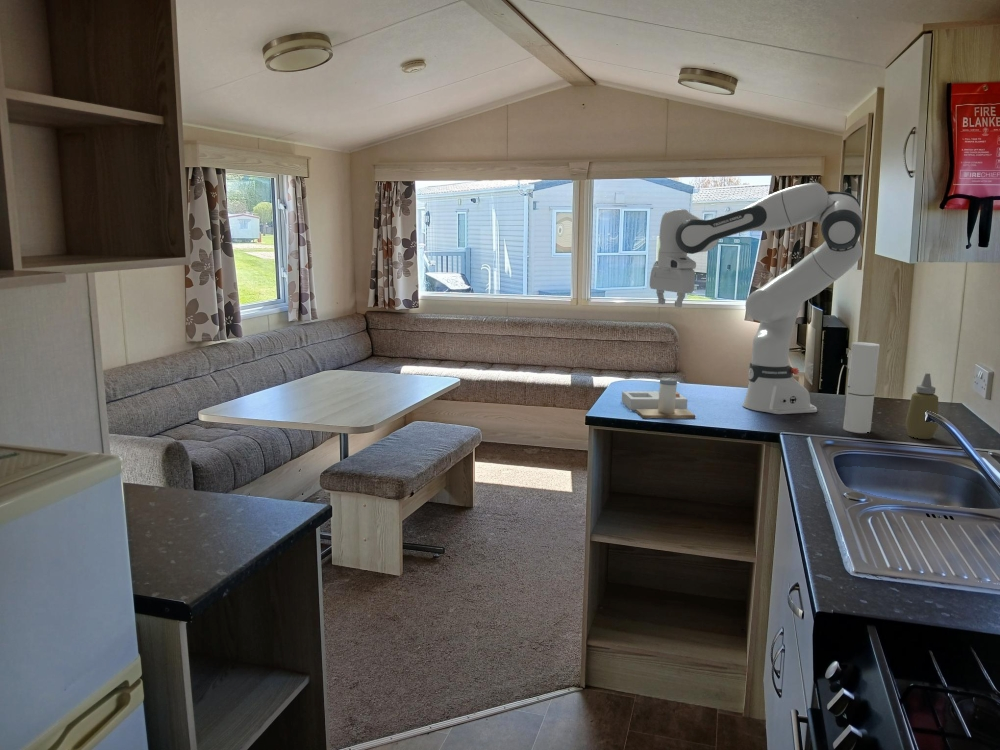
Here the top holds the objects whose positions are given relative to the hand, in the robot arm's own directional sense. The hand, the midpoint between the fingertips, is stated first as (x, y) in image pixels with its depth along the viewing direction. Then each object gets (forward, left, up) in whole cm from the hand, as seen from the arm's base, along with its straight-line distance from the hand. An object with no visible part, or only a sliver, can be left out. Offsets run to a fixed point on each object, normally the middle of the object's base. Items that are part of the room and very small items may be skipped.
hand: (669, 305), depth 246 cm
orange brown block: (0, +4, -32) cm, 32 cm away
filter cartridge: (+4, +16, -31) cm, 35 cm away
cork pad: (+5, +17, -32) cm, 36 cm away
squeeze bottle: (-60, +43, -32) cm, 81 cm away
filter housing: (+5, +4, -32) cm, 33 cm away
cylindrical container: (-46, +35, -32) cm, 66 cm away
